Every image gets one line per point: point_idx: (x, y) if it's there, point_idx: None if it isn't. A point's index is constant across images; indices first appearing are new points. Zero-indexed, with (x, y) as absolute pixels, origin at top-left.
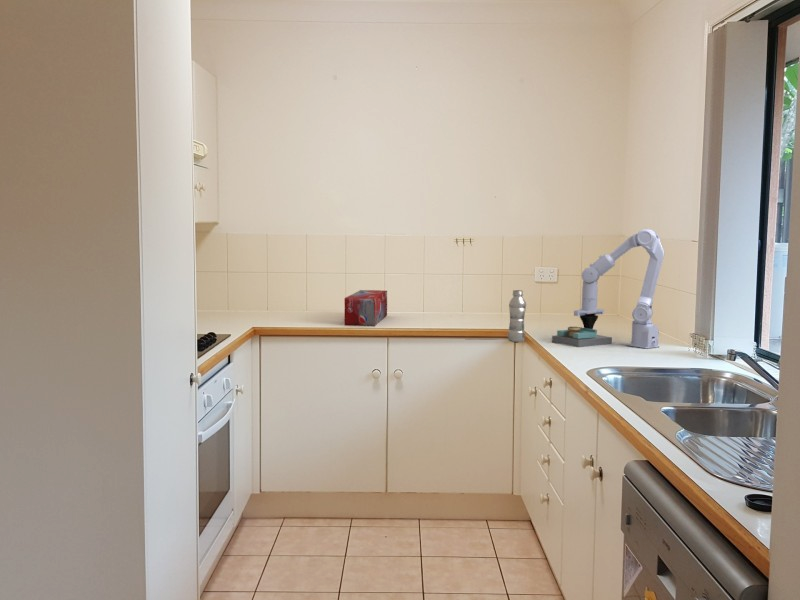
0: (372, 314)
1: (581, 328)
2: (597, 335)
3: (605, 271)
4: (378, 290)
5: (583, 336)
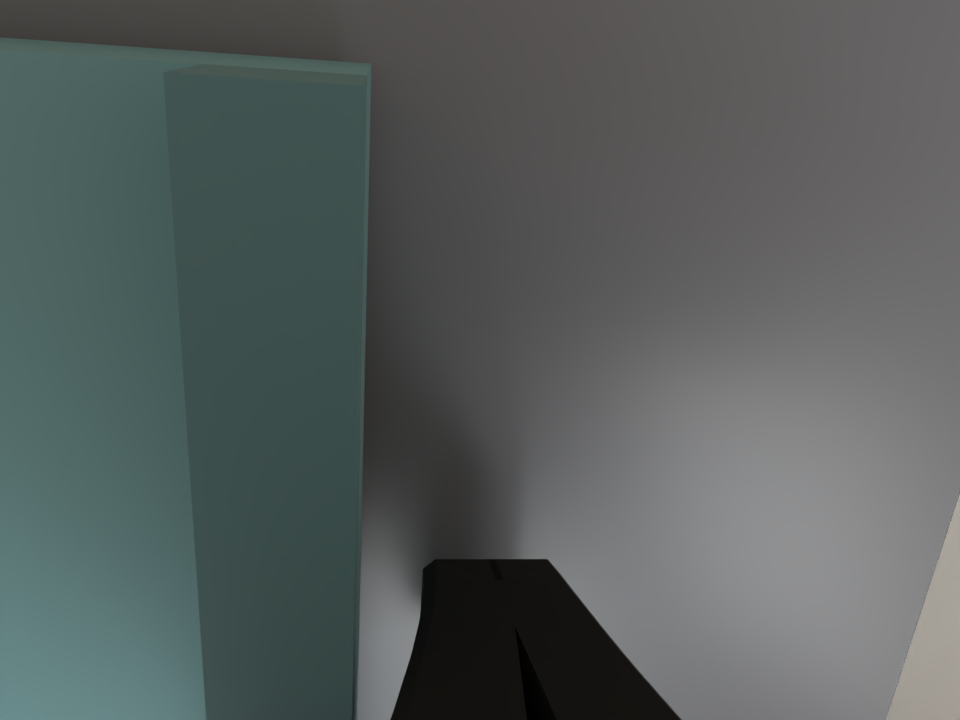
0: None
1: (213, 663)
2: (810, 640)
3: None
4: None
5: None
